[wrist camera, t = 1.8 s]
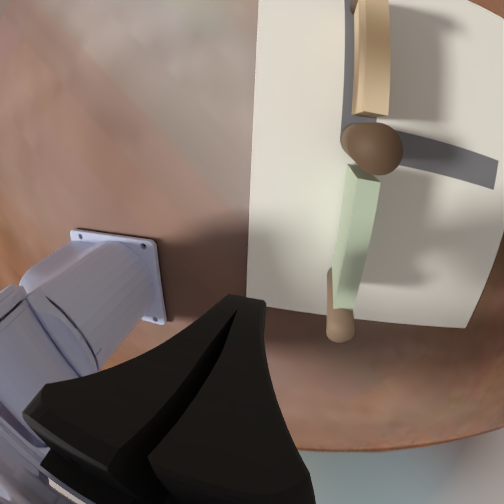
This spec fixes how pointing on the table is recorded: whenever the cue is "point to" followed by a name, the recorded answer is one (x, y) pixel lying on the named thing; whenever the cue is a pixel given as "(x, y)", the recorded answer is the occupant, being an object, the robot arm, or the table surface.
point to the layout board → (392, 185)
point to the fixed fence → (372, 91)
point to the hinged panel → (350, 251)
